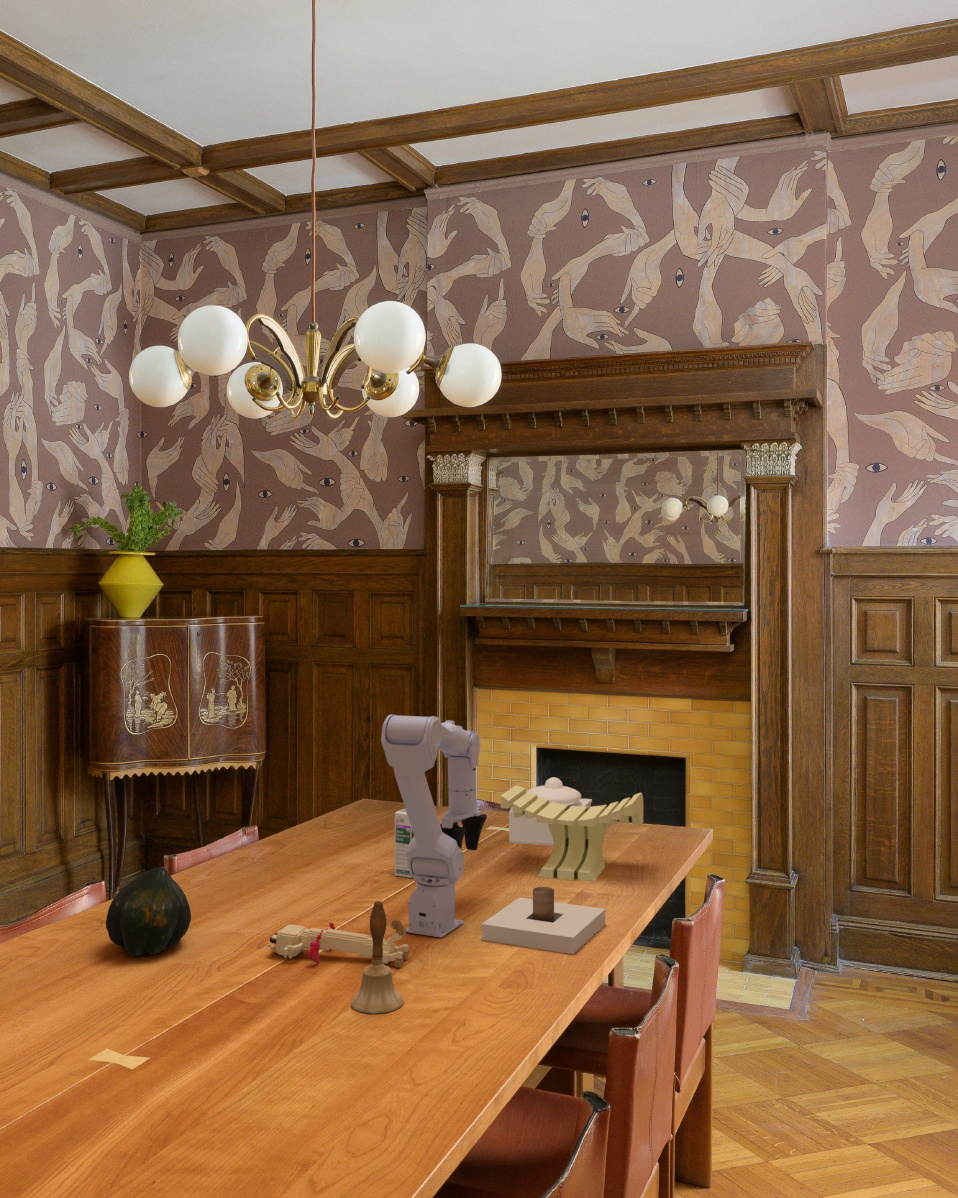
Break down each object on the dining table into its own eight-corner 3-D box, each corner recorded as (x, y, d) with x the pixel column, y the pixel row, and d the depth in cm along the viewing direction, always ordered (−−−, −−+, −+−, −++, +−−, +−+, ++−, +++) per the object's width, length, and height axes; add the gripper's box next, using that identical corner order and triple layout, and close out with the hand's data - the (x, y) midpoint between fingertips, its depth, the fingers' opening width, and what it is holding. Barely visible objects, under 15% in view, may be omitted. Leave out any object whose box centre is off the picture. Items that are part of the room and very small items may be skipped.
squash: (86, 936, 179) (147, 866, 182) (94, 914, 193) (150, 849, 196) (151, 985, 182) (210, 916, 184) (154, 959, 196) (209, 895, 199)
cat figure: (411, 961, 186) (280, 940, 191) (414, 913, 186) (283, 893, 191) (395, 982, 176) (257, 959, 181) (399, 931, 176) (261, 909, 181)
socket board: (573, 954, 185) (573, 937, 185) (481, 940, 193) (481, 924, 193) (605, 924, 201) (605, 909, 201) (519, 912, 209) (519, 897, 209)
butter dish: (509, 843, 266) (509, 781, 265) (528, 827, 283) (528, 769, 283) (576, 848, 260) (576, 785, 260) (592, 832, 277) (591, 772, 277)
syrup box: (393, 876, 235) (393, 812, 235) (407, 869, 240) (407, 807, 240) (415, 879, 233) (415, 814, 232) (428, 873, 238) (428, 809, 238)
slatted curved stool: (643, 866, 243) (643, 789, 243) (632, 884, 228) (632, 803, 228) (519, 856, 252) (519, 782, 252) (500, 873, 237) (500, 795, 237)
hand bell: (377, 989, 169) (376, 891, 169) (414, 1002, 164) (414, 901, 164) (339, 1005, 163) (338, 903, 163) (377, 1019, 158) (376, 914, 158)
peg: (547, 937, 194) (547, 894, 194) (529, 933, 196) (528, 891, 196) (557, 931, 198) (557, 889, 197) (539, 927, 200) (539, 885, 200)
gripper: (463, 798, 204) (464, 866, 205) (495, 783, 217) (496, 847, 218) (432, 795, 208) (433, 862, 208) (465, 780, 221) (466, 843, 221)
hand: (463, 854), depth 213 cm, fingers open, 7 cm apart
